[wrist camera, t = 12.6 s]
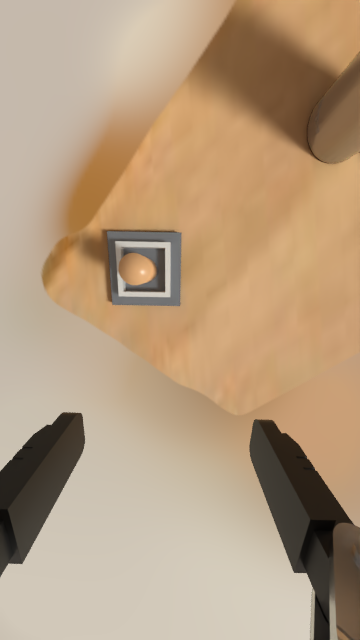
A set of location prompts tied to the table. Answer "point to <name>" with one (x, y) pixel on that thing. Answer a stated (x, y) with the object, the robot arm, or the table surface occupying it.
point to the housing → (162, 252)
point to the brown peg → (137, 269)
